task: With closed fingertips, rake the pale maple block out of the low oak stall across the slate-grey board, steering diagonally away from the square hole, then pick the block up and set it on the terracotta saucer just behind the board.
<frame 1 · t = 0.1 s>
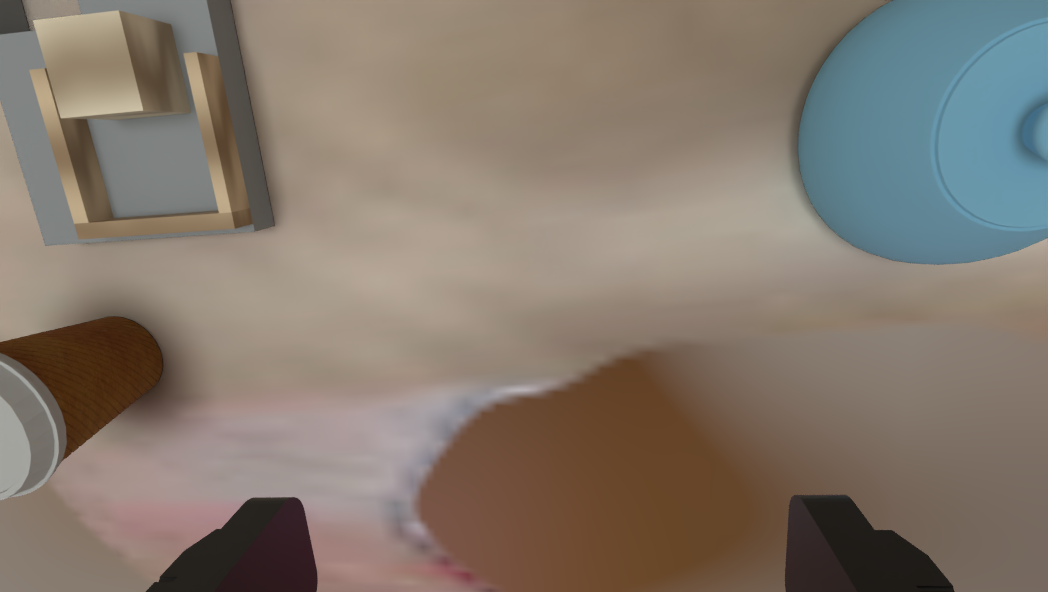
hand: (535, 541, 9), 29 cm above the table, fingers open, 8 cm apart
disposable coffee cup: (125, 354, 43), on the table
block: (143, 73, 35), point 2 cm above the table, touching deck
stall: (184, 149, 38), resting on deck
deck: (126, 39, 37), on the table
sugar bowl: (915, 129, 34), on the table
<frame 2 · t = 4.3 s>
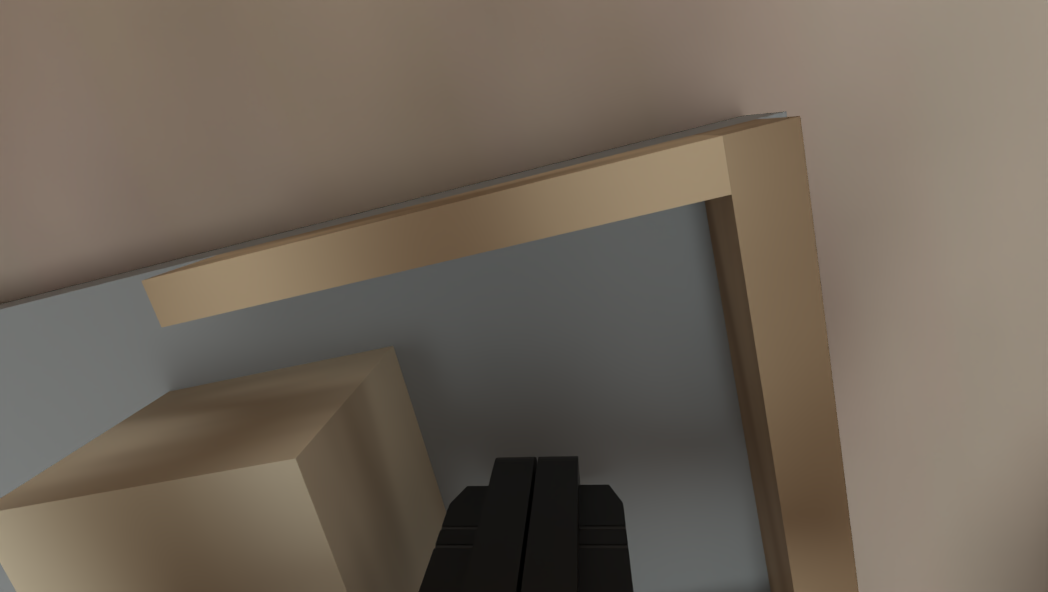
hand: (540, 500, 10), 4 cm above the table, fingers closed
block: (317, 476, 12), point 3 cm above the table, touching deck, gripper
stall: (543, 394, 14), resting on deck
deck: (312, 516, 15), on the table
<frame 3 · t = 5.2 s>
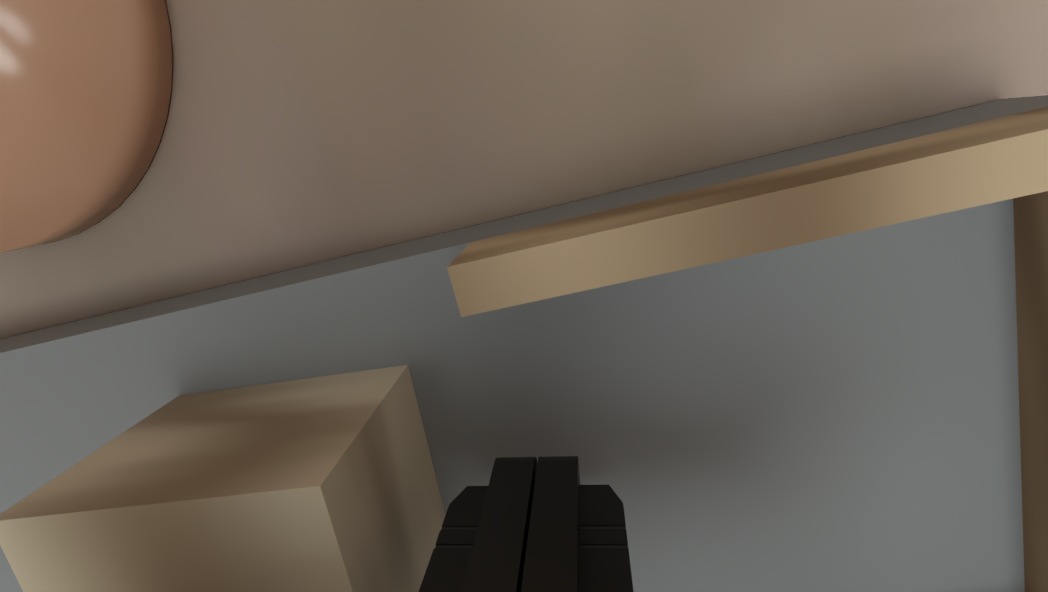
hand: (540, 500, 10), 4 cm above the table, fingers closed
block: (323, 487, 12), point 3 cm above the table, touching gripper
stall: (752, 390, 13), resting on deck
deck: (491, 516, 15), on the table
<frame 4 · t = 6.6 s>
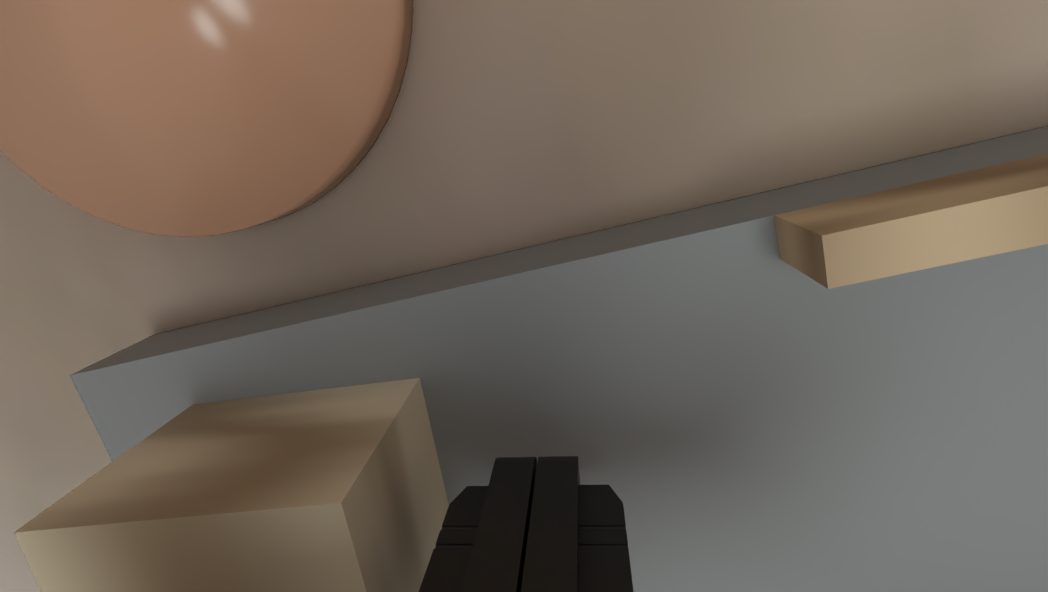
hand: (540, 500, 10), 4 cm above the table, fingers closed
block: (333, 496, 12), point 2 cm above the table, touching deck, gripper
stall: (995, 373, 13), resting on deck
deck: (700, 506, 14), on the table
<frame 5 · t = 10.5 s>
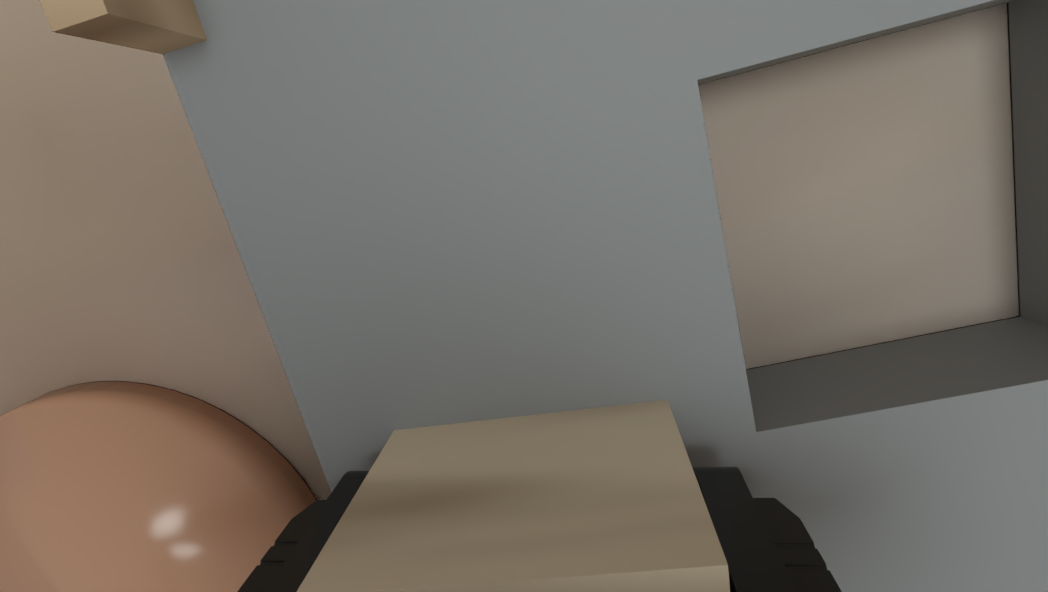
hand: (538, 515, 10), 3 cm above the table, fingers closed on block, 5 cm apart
saucer: (154, 556, 15), on the table
block: (547, 533, 11), point 2 cm above the table, touching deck, gripper
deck: (638, 72, 11), on the table
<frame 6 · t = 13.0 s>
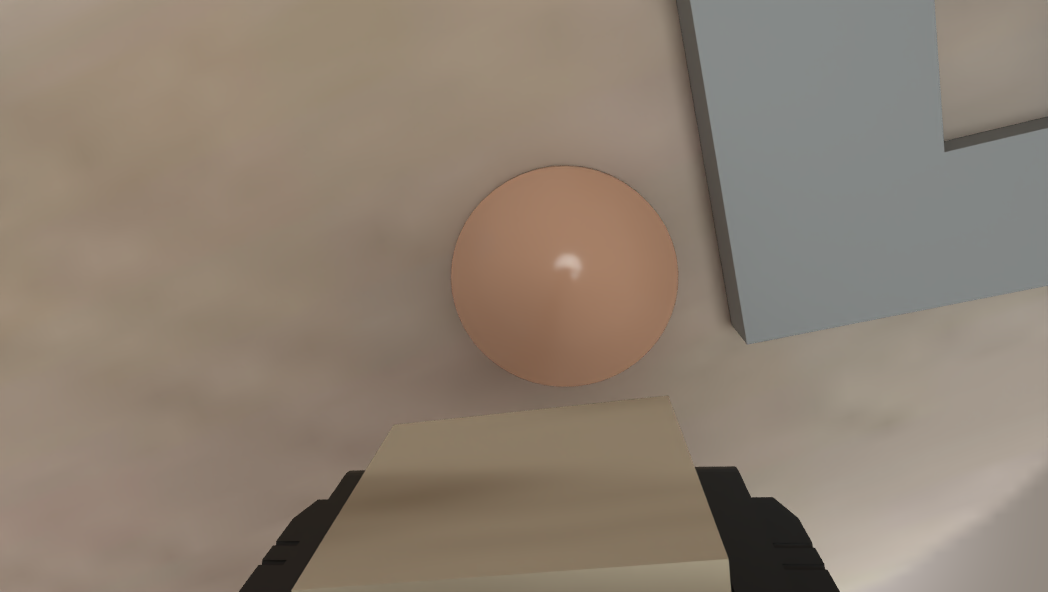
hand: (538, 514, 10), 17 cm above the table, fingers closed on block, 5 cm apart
saucer: (563, 276, 26), on the table
block: (547, 528, 11), point 16 cm above the table, touching gripper
when the fingers open (3 cm above the table, at t = 15.5 s): block drops 1 cm, resting on saucer.
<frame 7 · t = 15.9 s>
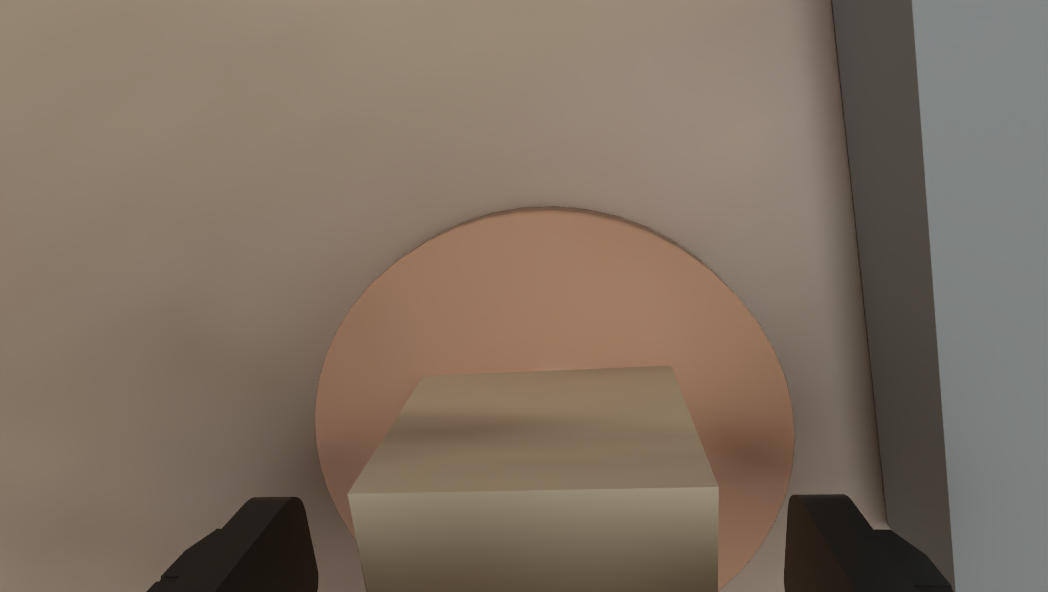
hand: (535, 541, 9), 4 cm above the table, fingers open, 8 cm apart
saucer: (548, 424, 13), on the table
block: (552, 479, 12), point 1 cm above the table, touching saucer
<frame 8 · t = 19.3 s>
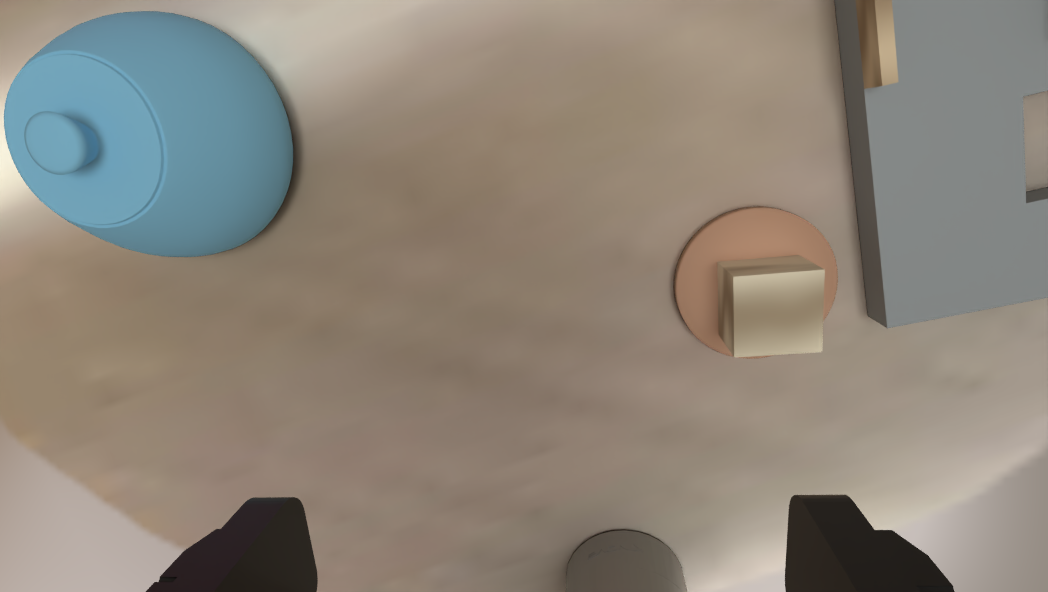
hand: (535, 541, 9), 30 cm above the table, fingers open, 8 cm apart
saucer: (750, 281, 38), on the table
block: (757, 295, 37), point 1 cm above the table, touching saucer
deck: (981, 92, 34), on the table
sugar bowl: (202, 140, 39), on the table
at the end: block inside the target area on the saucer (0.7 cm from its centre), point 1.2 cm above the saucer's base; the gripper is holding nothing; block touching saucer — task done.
